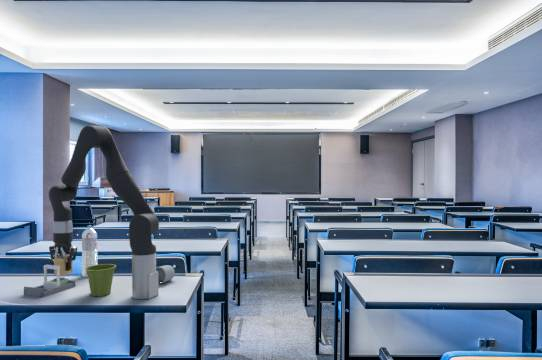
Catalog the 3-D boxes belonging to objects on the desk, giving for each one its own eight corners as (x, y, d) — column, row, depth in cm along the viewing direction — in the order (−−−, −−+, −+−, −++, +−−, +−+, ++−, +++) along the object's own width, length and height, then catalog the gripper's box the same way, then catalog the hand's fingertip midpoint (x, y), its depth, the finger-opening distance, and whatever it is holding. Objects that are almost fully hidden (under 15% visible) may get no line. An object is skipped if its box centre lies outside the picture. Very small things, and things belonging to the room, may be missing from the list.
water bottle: (91, 278, 177) (91, 226, 177) (78, 278, 179) (78, 226, 178) (100, 275, 184) (100, 224, 184) (88, 274, 185) (88, 224, 185)
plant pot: (122, 291, 156) (122, 265, 156) (99, 300, 145) (99, 271, 145) (102, 288, 161) (102, 262, 161) (78, 296, 150) (78, 268, 150)
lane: (75, 287, 162) (75, 278, 162) (42, 299, 147) (42, 288, 147) (57, 285, 166) (57, 276, 166) (23, 296, 150) (23, 286, 150)
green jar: (68, 286, 162) (68, 277, 162) (58, 290, 157) (58, 280, 157) (59, 285, 163) (59, 276, 163) (49, 289, 159) (49, 279, 159)
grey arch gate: (60, 289, 157) (60, 265, 156) (57, 290, 155) (56, 266, 155) (46, 288, 159) (46, 264, 159) (43, 289, 157) (43, 265, 157)
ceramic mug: (176, 280, 174) (175, 263, 174) (165, 284, 166) (165, 267, 166) (157, 278, 177) (156, 262, 177) (146, 283, 169) (145, 266, 170)
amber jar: (62, 275, 159) (62, 256, 159) (54, 274, 161) (53, 256, 161) (72, 272, 164) (72, 254, 164) (63, 271, 166) (63, 253, 166)
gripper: (42, 231, 161) (43, 271, 161) (68, 233, 157) (68, 273, 157) (57, 229, 168) (58, 267, 168) (82, 230, 164) (83, 269, 164)
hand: (63, 269), depth 162 cm, fingers closed on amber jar, 5 cm apart
